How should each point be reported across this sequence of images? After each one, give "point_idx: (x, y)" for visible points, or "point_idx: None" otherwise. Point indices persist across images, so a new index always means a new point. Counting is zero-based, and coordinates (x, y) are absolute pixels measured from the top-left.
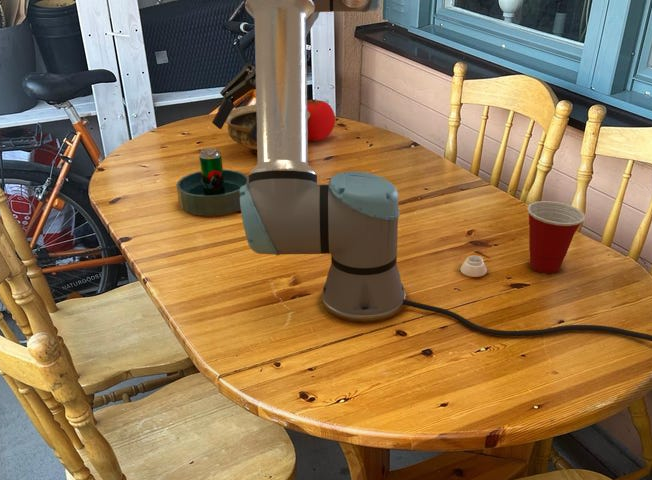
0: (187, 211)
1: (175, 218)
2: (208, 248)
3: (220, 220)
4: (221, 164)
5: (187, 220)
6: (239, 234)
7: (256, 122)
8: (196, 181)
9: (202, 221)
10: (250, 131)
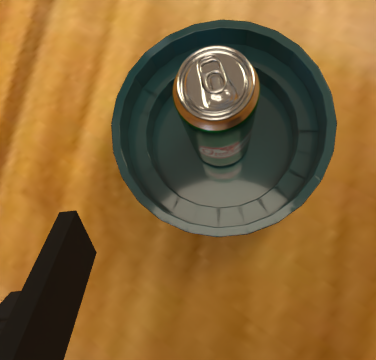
0: None
1: None
2: (30, 19)
3: None
4: (186, 127)
5: None
6: (38, 97)
7: (36, 274)
8: (319, 124)
9: None
10: (66, 224)
